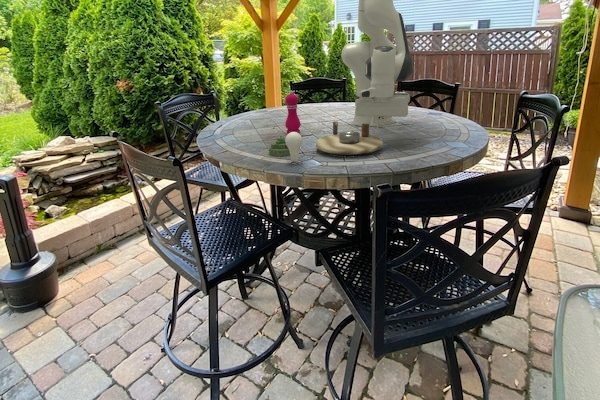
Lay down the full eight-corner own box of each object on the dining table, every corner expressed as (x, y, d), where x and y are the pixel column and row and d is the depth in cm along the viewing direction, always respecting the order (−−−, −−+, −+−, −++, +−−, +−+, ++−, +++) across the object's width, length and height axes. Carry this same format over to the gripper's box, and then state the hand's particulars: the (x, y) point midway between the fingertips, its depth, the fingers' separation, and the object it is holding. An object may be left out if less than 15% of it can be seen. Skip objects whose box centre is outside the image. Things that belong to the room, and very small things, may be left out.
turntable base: (357, 140, 159) (357, 137, 159) (384, 151, 142) (384, 147, 142) (315, 147, 152) (315, 143, 152) (339, 159, 135) (339, 155, 135)
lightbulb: (292, 158, 139) (291, 129, 135) (306, 160, 136) (305, 131, 132) (283, 163, 135) (281, 133, 130) (296, 165, 131) (295, 134, 127)
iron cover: (353, 138, 151) (353, 128, 149) (363, 142, 144) (363, 132, 142) (335, 140, 148) (335, 131, 146) (345, 145, 141) (345, 135, 140)
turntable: (359, 134, 162) (359, 119, 160) (396, 147, 140) (397, 130, 138) (305, 142, 153) (304, 126, 151) (335, 158, 131) (335, 140, 129)
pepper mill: (299, 135, 173) (297, 91, 165) (284, 135, 174) (281, 91, 167) (302, 132, 179) (300, 89, 172) (287, 132, 181) (285, 89, 173)
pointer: (328, 139, 164) (327, 121, 161) (338, 138, 165) (338, 120, 162) (332, 142, 159) (331, 123, 156) (343, 141, 160) (343, 122, 157)
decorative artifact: (297, 150, 150) (274, 149, 153) (296, 133, 147) (273, 132, 150) (290, 157, 141) (265, 156, 144) (289, 139, 139) (264, 138, 141)
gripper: (410, 90, 142) (408, 126, 147) (357, 91, 148) (356, 125, 153) (410, 92, 137) (407, 129, 142) (354, 93, 142) (354, 128, 148)
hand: (380, 127), depth 148 cm, fingers closed
